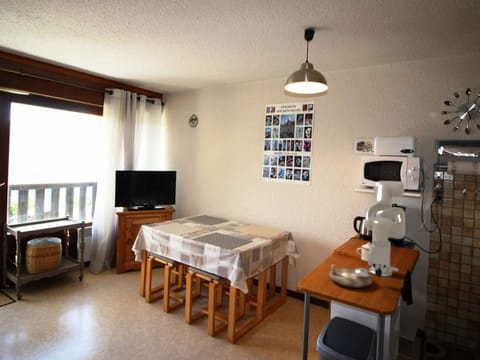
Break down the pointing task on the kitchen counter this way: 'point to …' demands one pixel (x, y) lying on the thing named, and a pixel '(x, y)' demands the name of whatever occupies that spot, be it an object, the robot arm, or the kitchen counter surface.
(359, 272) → the cover
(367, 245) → the teacup with lid
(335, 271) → the disc
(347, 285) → the turntable base
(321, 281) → the kitchen counter surface
